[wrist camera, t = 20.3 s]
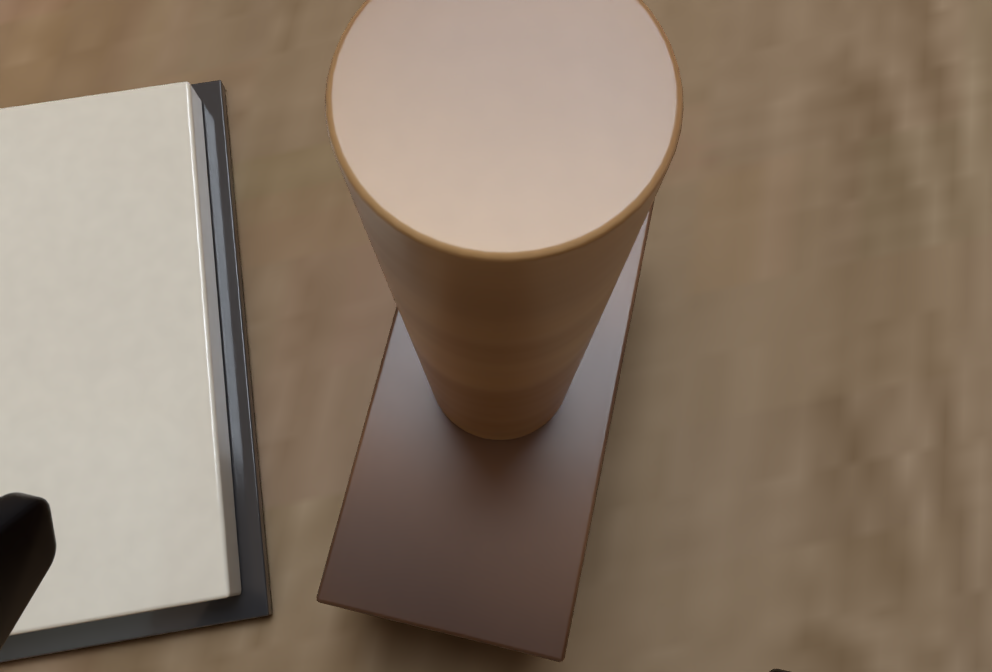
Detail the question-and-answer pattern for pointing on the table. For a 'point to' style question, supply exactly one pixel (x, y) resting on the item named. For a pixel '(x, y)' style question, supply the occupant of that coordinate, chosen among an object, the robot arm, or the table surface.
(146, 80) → the table surface
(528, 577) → the cylinder on rectangular base
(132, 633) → the white notepad
